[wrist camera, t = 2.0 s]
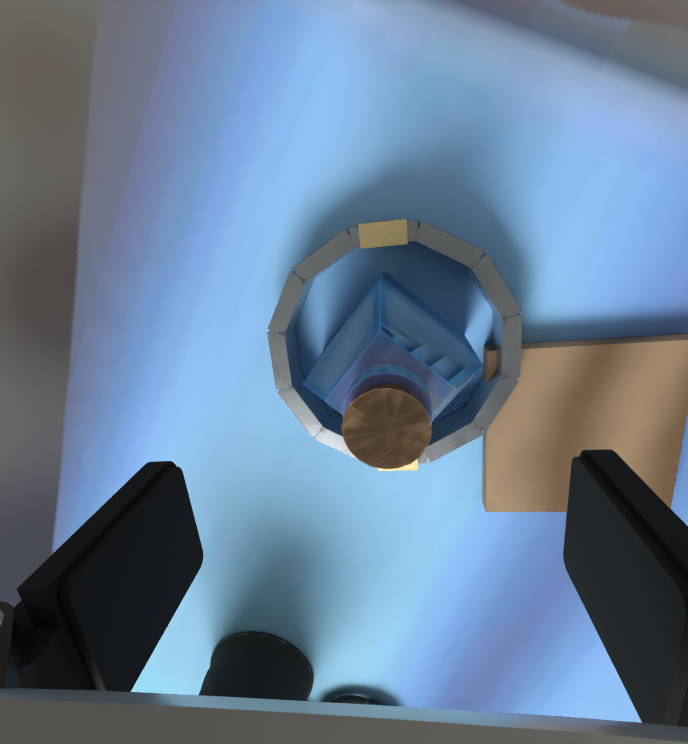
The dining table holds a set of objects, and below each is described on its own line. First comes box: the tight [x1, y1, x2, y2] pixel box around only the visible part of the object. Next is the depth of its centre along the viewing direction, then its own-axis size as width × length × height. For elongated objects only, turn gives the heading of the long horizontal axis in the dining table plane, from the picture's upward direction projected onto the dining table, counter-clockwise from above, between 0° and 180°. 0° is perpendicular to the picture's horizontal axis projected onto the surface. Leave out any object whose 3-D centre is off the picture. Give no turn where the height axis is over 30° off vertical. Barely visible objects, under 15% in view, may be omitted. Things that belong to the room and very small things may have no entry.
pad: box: [483, 334, 688, 512], centre depth 26 cm, size 11×11×1 cm
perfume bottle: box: [302, 272, 484, 469], centre depth 20 cm, size 6×6×12 cm
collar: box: [268, 219, 523, 471], centre depth 24 cm, size 14×14×3 cm
